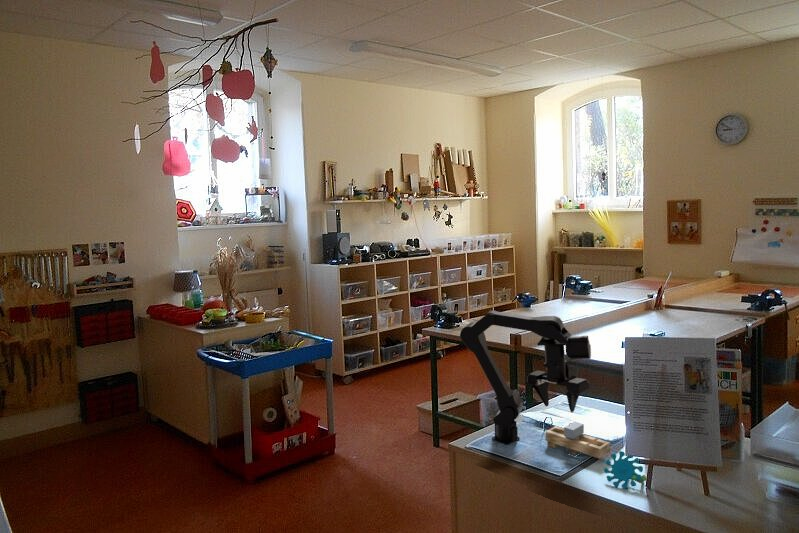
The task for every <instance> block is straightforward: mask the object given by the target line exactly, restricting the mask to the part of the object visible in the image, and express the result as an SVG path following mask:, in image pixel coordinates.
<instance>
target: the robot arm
mask: <svg viewBox="0 0 799 533" xmlns="http://www.w3.org/2000/svg"><path fill="white" fill-rule="evenodd" d="M492 326H496V327H504V328H509V329H510V328H511V329H516V330H522V331H528V332H530V333H531V332H532V333H534V334H535V335H537V336H539V337H541V339H539V340H538V342H537V343H536V345H537V346H544V347H543V348H544V357H545V358H544V359H545V362H544V363H543V364H542V366H543V367H544V368H545V370H546V371H543V370H535V371H533V372H531V373H529V374H528V375H527V376H526V379H527V384H529V385H530V387H531V388H533V389H534V391H535V392H536V393H537V395H538V397H539V398H540V400H541V401H542V403H543V404H544V406H545V407H548V406H549V401H550V400H549V389H548V387H549V385H550V384H553V385H558V386H563V387H565V388H566V390H567V391H566V392H565V394H566V399H567V404H568V407H569V411H570V413H574V412H575V408H576V406H577V402H578V399H579V397H580V396H581V394H582V393H584V392H585V391H588V390H589V389H590V383H589V381H588V380H587V379H586V378H580V377H578V374H579V366H576V365H570V362H569V360H566V356H567V358H569V359H570V360H591V358H592V357H591V356H592V349H591V344H590V340H589V336H588V335H581V336H579V335H578V336H572V334H571V333H570V332H569V330H568V329H567V328H566V327H565V326H564V322H563V320H562V319H561V318H560V317H558V316H556V315H543V316H527V315H521V314H515V313H514V314H513V313H508V312H503V311H502V312H501V311H496V310H493V309H492V310H489V311H488V312H487V313H485V315H484V316H483V317H481V318H480V319H479V320H477V321H476V322H474V321H473V322H472V321H471V322H469V323H468V324H467V325H466V326H464V327H463V328H462V329H461V330H460V333H459V337H460V340H461V342H462V343H463V344H464V345H465V347H466V348H467V349H468V350H469V351H470V352H471V353H472V354H473V355H474V356H475V357H476V359H477V360H476V361H478V363H479V365H480V367H481V369H482V370H483V373H484V374H485V376H486V378H487V380H488V382H489V384H490V386H491V388H492V389H493V391H494V393H495V396H496V403H497V407H498V410H497V412H496V414H495V415H494V417H493V418H492V419H493V423H494V436H492V437H491V440H493V441H496V442H498V443H500V444H504V445H507V446H508V445H511V444H513V443H514V442H517V441H518V440H520V439H521V438H520V436H518V434H519V432H518V430H519V428H518V426H517V421H516V419H517V418H518V417H519V416H520V413H521V412H522V409H523V400H524V399H523V398H522V397H521V395H520V393H519V391H518V389H511V388H510V387H509V385H508V384H507V382H506V380H505V378H504V376H503V373H502V372H501V371H500V369H499V367H498V365H497V363H496V360H495V359H494V357H493V355H492V353H491V351H490V350H489V348H488V344H487V338H486V334H485V331H486V330H488V329H489V328H490V327H492ZM565 354H566V356H565ZM572 376H573V377H574V378H572ZM570 378H572V379H570ZM569 379H570V380H569Z"/></svg>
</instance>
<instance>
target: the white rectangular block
mask: <svg viewBox="0 0 799 533" xmlns="http://www.w3.org/2000/svg"><path fill="white" fill-rule="evenodd" d="M584 426H585V424H583V423H581V422H578V421H573V422H571V423H570V424H568V425H566V426H564V427H563V428H564V436H565V437H568V438H571V439H574V438H575V439H578V440H579V435H581V434H584V432H585V429H584V428H585V427H584Z"/></svg>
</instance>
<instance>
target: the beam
mask: <svg viewBox="0 0 799 533" xmlns="http://www.w3.org/2000/svg"><path fill="white" fill-rule="evenodd" d="M544 440H545V441H546V442H547V444H546V445H547V447H550V448H554V449H556V448H558V447H559V446H562V447H564V448H566V455H568V454H570V455H573V456H576V455H578V454H580V453H582V454H585V455H588V456H591V457H594V458H597V459H601V458H603V457H605V456H606V455H607V454H609V453H610V452H611V442H610V441H606V440H603V439H600V438H598V437H594V436H590V435H587V434H584V433H583V434H581V435H579V440H578V439H575V438H574V439H571V438H568V437H565V436H564V427H562V426H559V425H555V426H552V427H551V428H550V429H548V430H546V431H545V438H544ZM570 455H569V456H570ZM580 455H581V454H580ZM573 456H572V457H573Z"/></svg>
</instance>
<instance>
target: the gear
mask: <svg viewBox="0 0 799 533" xmlns="http://www.w3.org/2000/svg"><path fill="white" fill-rule="evenodd" d="M618 454H619V457H618V459H617V455H616V453H612V454H610V457H611V459H612V460H613V464H612V463H611V460H610V459H606V460H605V461H604V463H605V464H606V465H607V466H609V467H610V468H611V470H610V469H609V468H608V467H604V469H603V473H605V474H611V475H613V476H611V475H606V480H607V482H609V483H610V482H612V480H615V481H613V482H612V484H613V486H614V487H615V488H618V487H619V486H620V483H622V482H624V483H622V484H621V488H622V489H623V490H628V482H629V481H630V486H631V487H636V486H637V483H639V484H641V485H645V482H646V481H647V480H648V478H647V477H646V475H645V474H642V475H641V474H638V473H637V472H636V471H635V470H638V471H639V472H640V473H643V472H644V467H643V466H641V465H639V464H641V462H640V463H639V461H640V459H639V458H638V457H636V458H635V459H633V458H634V457H633V456H634V455H633V456H626V457H625V458H623V457H624V456H625V452H624V451H622V450H620V451H619V452H618ZM629 459H633V460H629ZM634 464H637V465H634ZM616 480H617V481H616ZM636 482H637V483H636Z"/></svg>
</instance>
